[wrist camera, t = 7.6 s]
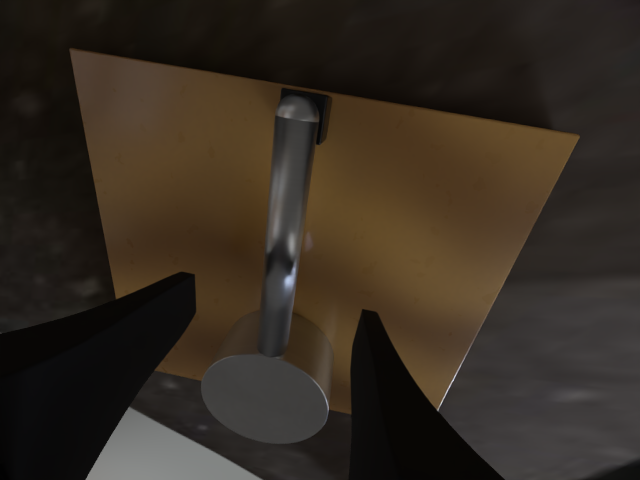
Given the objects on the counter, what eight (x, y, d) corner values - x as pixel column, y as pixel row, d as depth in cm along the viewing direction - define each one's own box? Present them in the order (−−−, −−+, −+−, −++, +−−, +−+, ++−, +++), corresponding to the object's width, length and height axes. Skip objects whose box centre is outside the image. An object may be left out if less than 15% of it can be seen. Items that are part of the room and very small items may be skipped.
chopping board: (422, 409, 20) (427, 432, 18) (143, 348, 21) (127, 365, 19) (557, 131, 12) (582, 134, 11) (98, 53, 13) (67, 46, 11)
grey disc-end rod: (324, 400, 18) (317, 455, 15) (226, 378, 19) (202, 428, 16) (395, 107, 11) (407, 107, 8) (231, 80, 11) (187, 70, 8)
